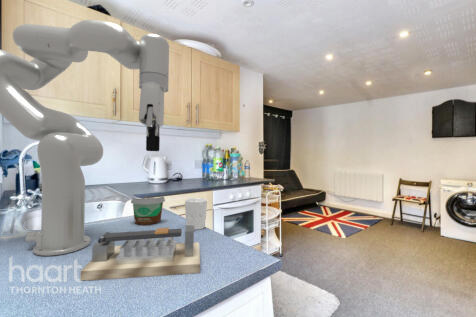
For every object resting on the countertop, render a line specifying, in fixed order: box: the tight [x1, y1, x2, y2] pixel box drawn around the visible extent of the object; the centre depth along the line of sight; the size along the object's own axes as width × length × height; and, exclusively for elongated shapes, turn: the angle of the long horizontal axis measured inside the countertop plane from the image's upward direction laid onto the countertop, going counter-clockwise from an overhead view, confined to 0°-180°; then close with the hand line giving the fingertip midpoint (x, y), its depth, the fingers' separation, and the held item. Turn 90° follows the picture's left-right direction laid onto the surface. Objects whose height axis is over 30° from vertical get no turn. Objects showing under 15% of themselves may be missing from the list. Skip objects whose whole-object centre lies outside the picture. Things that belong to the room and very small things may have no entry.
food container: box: [130, 195, 166, 226], centre depth 87 cm, size 12×6×10 cm, turn 106°
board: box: [79, 241, 201, 281], centre depth 55 cm, size 24×13×2 cm, turn 100°
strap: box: [97, 227, 183, 243], centre depth 55 cm, size 18×4×2 cm, turn 100°
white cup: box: [184, 197, 208, 231], centre depth 84 cm, size 8×8×10 cm
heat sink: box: [91, 225, 195, 265], centre depth 55 cm, size 22×9×6 cm, turn 100°
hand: (152, 150), depth 63 cm, fingers closed
